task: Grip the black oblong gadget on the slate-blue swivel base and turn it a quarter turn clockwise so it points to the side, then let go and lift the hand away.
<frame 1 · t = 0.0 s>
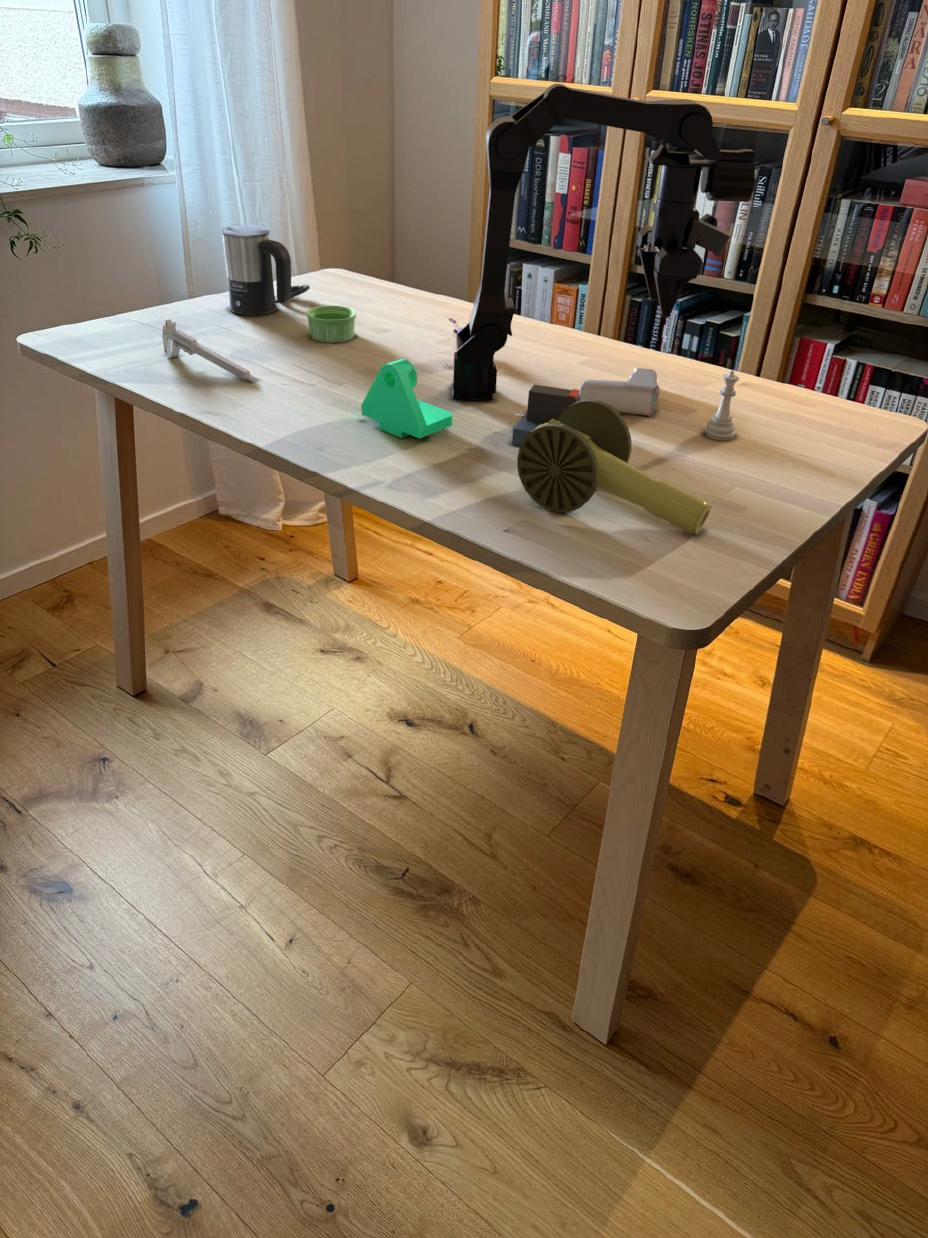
hand: (659, 307, 146), 15 cm above the table, tool pointing down, fingers open, 9 cm apart
swivel base: (560, 438, 139), on the table
chess piece: (718, 436, 143), on the table
infrared thermometer: (618, 399, 154), on the table
cannon: (610, 508, 122), on the table
ramekin: (332, 337, 174), on the table
caliper: (209, 368, 158), on the table
camera mount: (408, 427, 141), on the table
milk frother: (270, 306, 188), on the table
gadget: (553, 405, 137), point 5 cm above the table, hinge at 0.0°
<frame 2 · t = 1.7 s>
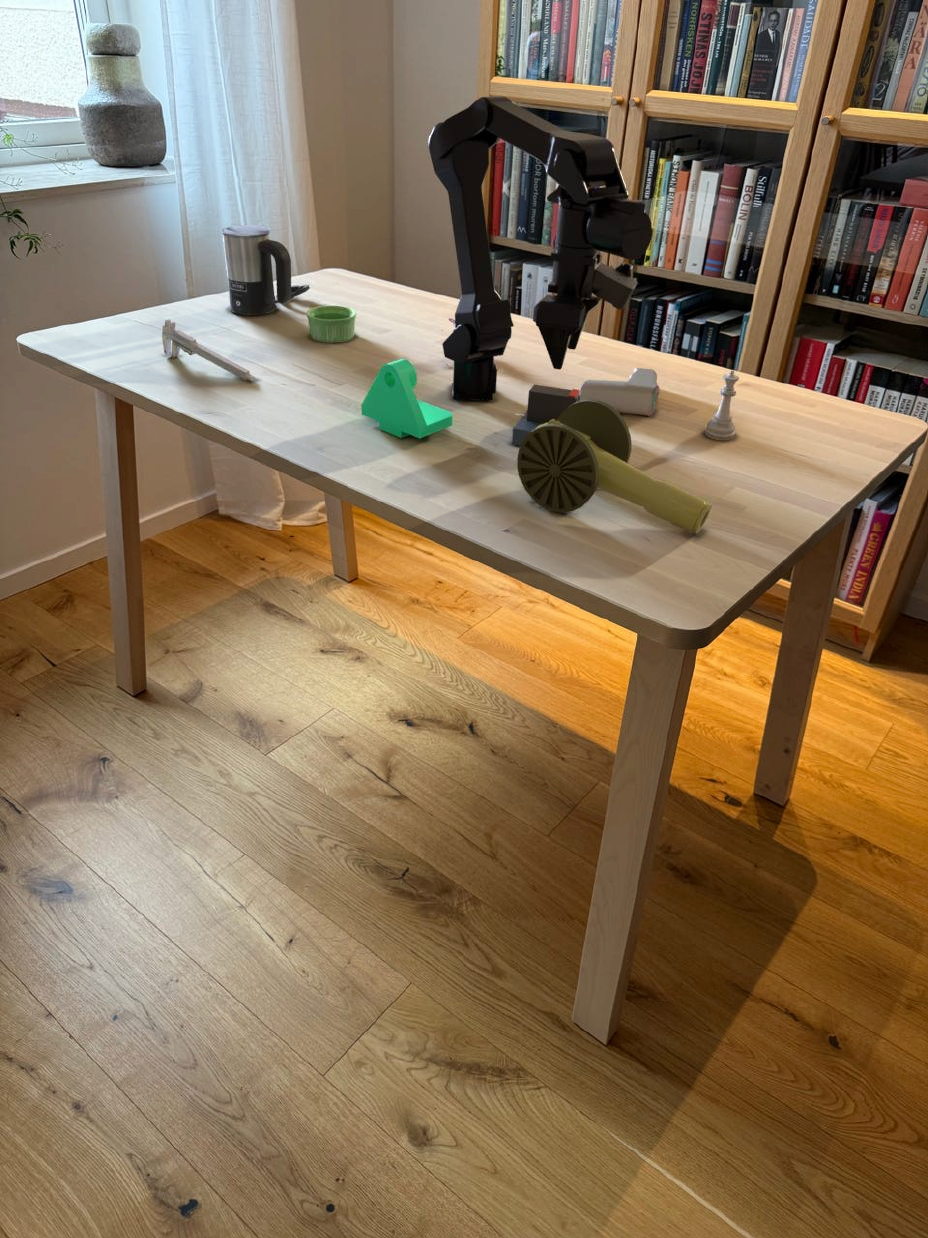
hand: (564, 358, 134), 11 cm above the table, tool pointing down, fingers open, 9 cm apart
nothing on the table moved.
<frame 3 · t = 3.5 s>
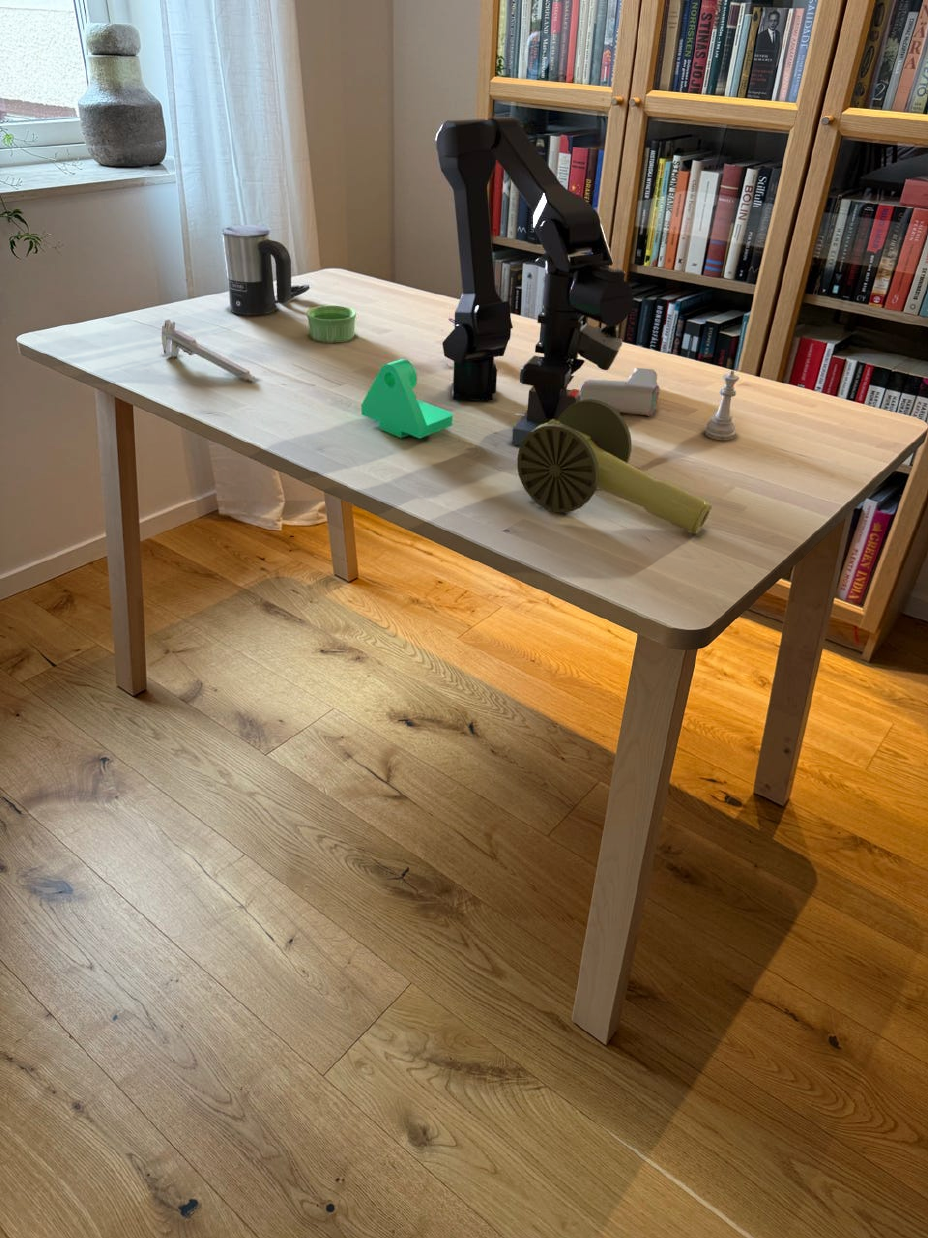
hand: (552, 414, 137), 4 cm above the table, tool pointing down, fingers closed on gadget, 3 cm apart
gadget: (553, 405, 137), point 5 cm above the table, hinge at 0.0°, touching gripper
everything else where it was.
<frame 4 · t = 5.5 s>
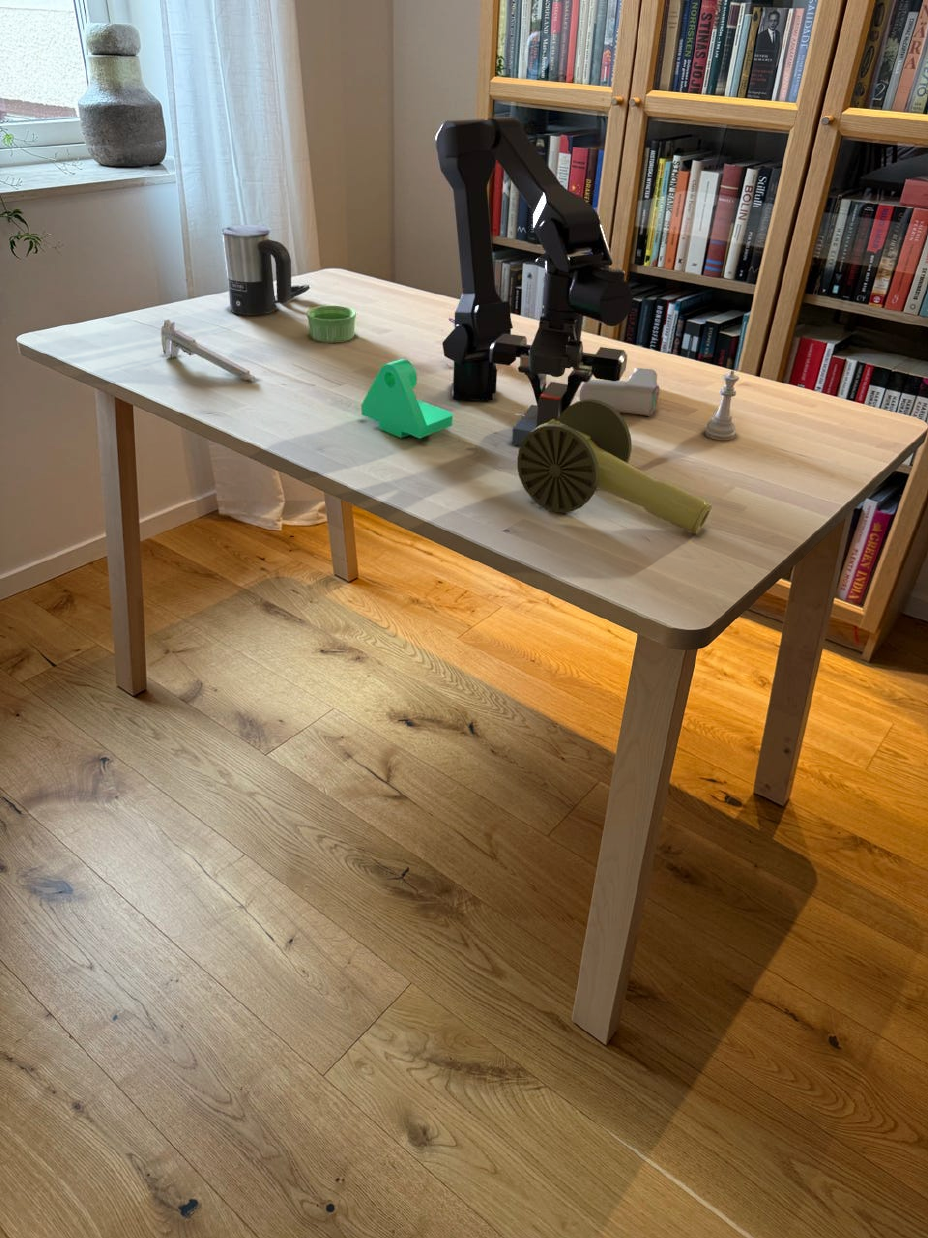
hand: (552, 414, 138), 4 cm above the table, tool pointing down, fingers closed on gadget, 3 cm apart
gadget: (553, 405, 137), point 5 cm above the table, hinge at -89.7°, touching gripper
everything else where it was.
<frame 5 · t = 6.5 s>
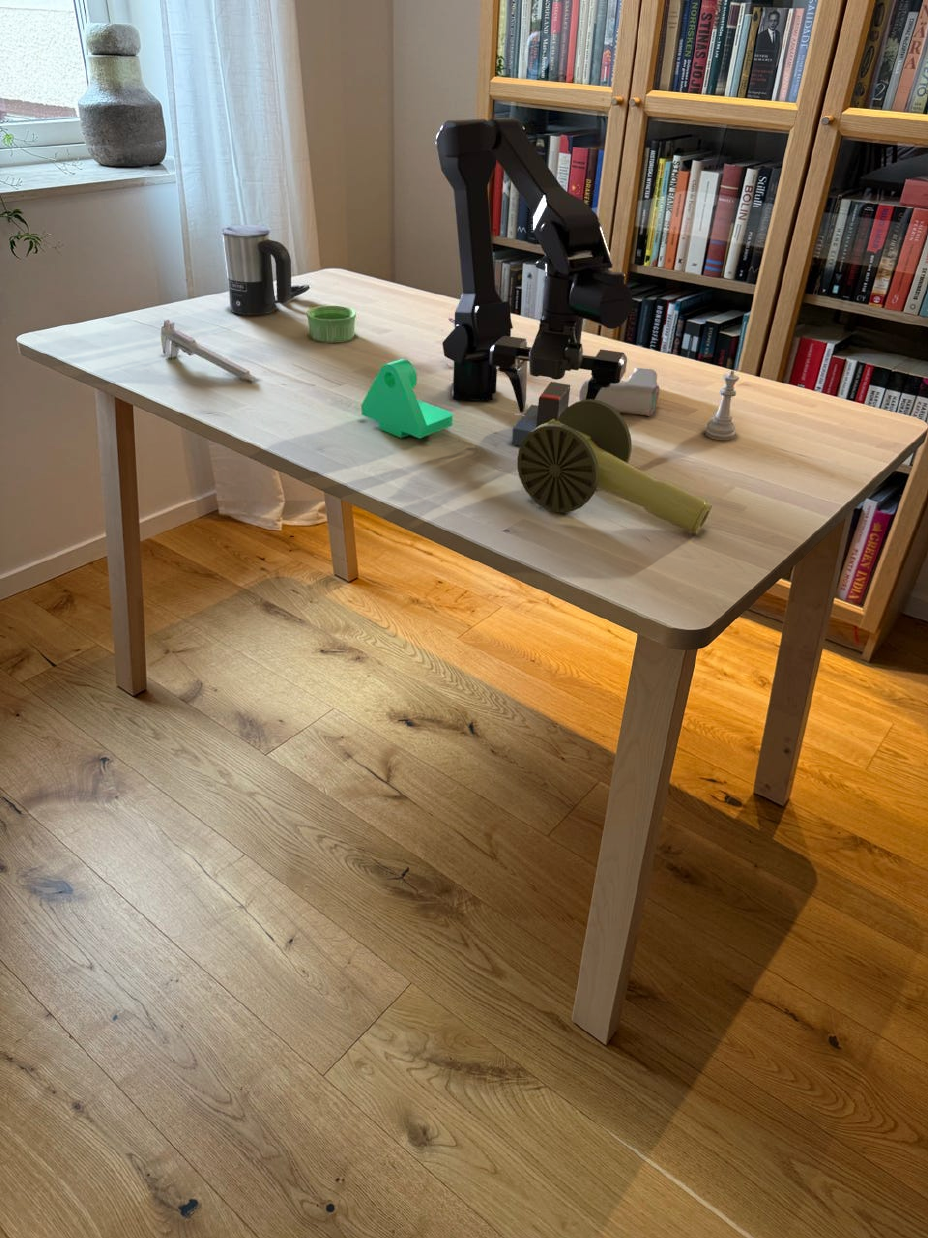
hand: (552, 416, 138), 3 cm above the table, tool pointing down, fingers open, 9 cm apart
gadget: (553, 405, 137), point 5 cm above the table, hinge at -89.7°
everything else where it was.
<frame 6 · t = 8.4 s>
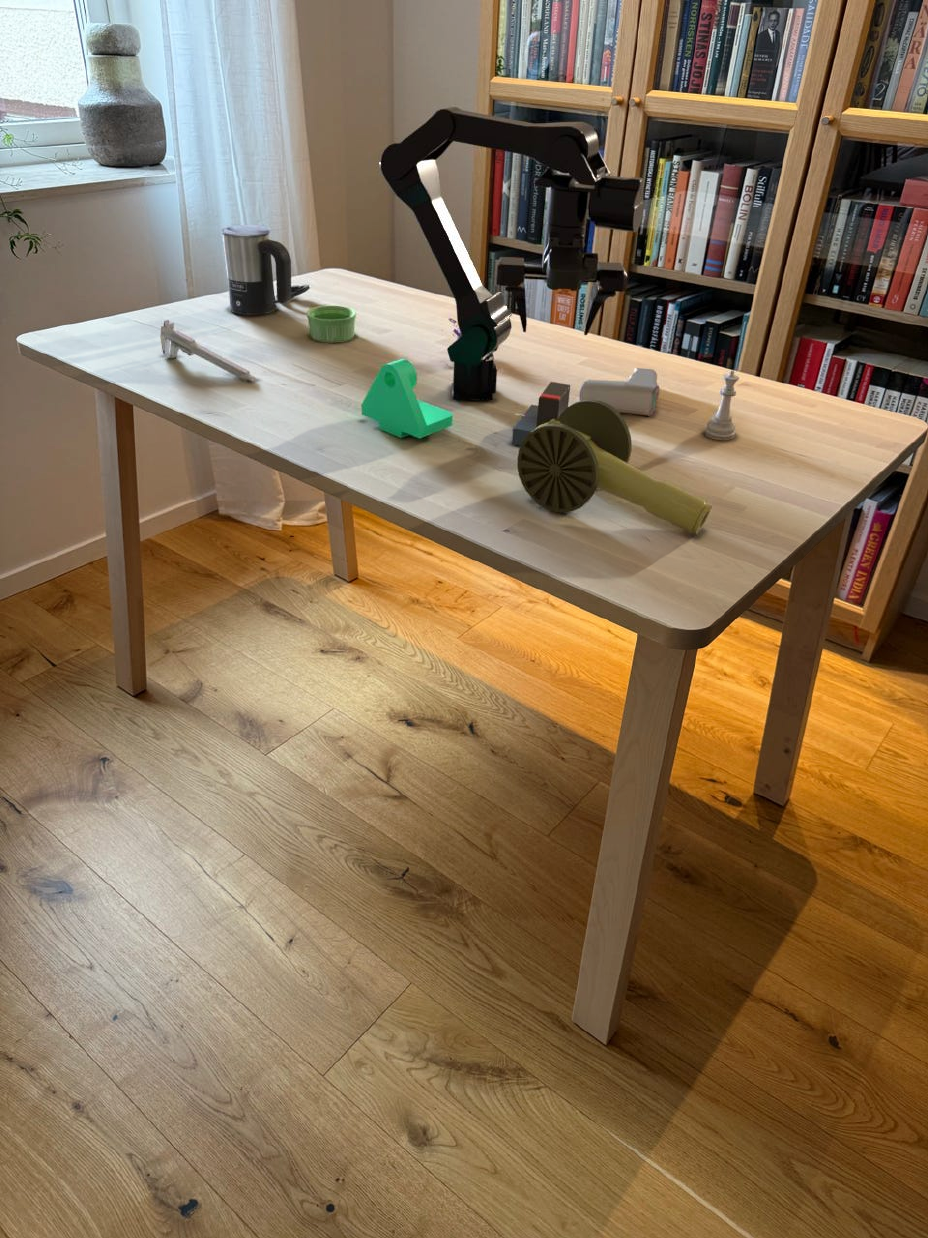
hand: (554, 332, 142), 12 cm above the table, tool pointing down, fingers open, 9 cm apart
nothing on the table moved.
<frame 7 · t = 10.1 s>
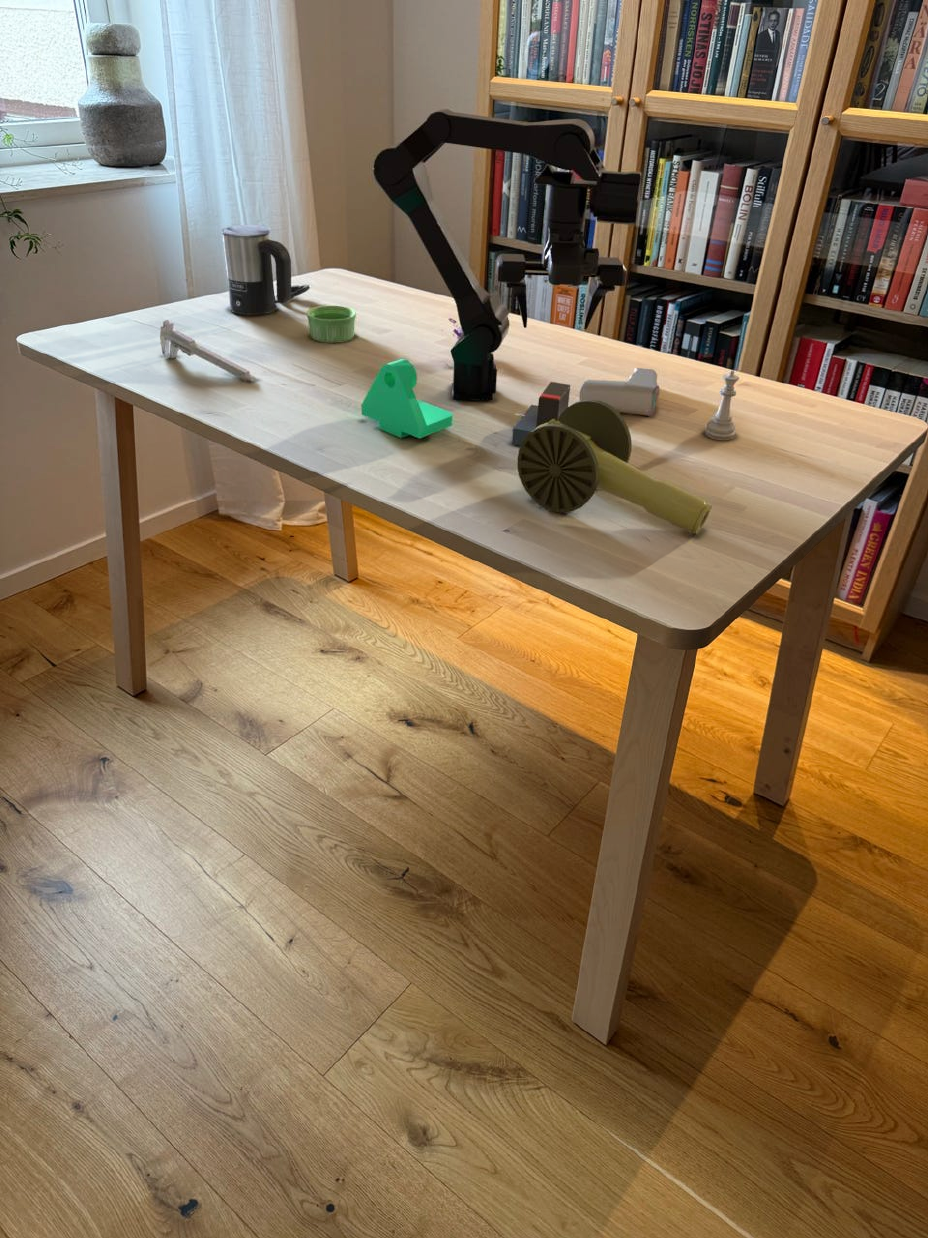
hand: (554, 327, 144), 12 cm above the table, tool pointing down, fingers open, 9 cm apart
nothing on the table moved.
at the end: gadget at -90° (first picture: +0°); the gripper is holding nothing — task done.
